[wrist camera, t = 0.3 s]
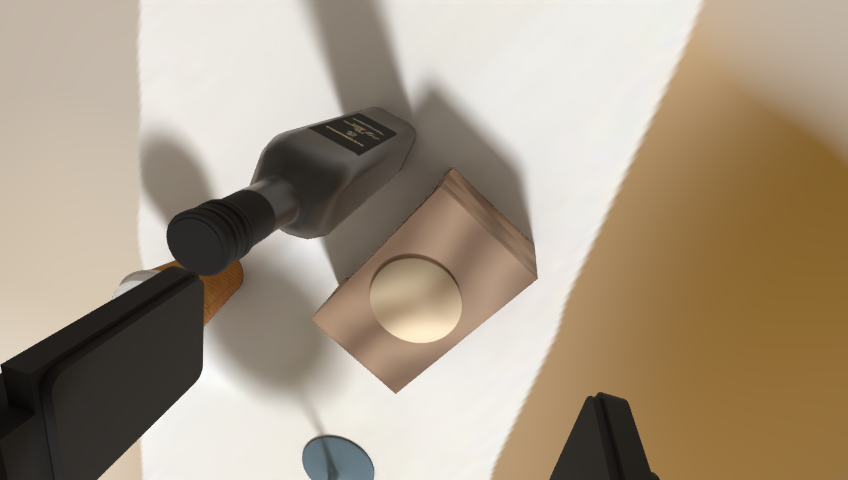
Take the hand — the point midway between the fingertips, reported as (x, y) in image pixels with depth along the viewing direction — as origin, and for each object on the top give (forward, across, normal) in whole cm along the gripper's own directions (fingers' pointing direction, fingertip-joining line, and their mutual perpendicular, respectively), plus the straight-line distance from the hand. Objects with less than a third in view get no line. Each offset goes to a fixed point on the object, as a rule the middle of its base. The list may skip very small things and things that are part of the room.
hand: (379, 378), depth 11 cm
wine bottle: (+38, +10, +3) cm, 39 cm away
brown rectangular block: (+37, +2, +15) cm, 40 cm away
